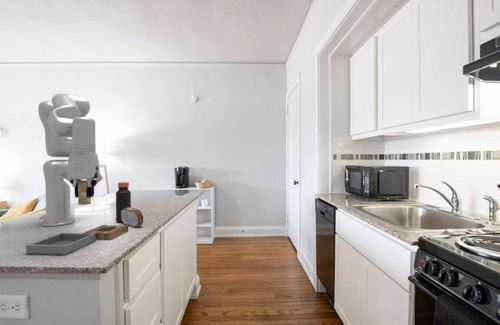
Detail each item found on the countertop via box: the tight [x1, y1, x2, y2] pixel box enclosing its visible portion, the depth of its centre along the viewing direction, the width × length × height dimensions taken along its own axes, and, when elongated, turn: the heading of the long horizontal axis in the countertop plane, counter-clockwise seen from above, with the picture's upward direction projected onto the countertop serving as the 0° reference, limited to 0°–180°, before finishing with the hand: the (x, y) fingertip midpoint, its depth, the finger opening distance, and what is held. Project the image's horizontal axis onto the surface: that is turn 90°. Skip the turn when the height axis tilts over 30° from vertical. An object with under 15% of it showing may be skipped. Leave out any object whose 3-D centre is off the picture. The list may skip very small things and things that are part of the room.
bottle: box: [115, 181, 132, 224], centre depth 125 cm, size 7×7×20 cm
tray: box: [25, 232, 97, 256], centre depth 88 cm, size 14×14×3 cm
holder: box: [83, 224, 129, 241], centre depth 103 cm, size 12×12×2 cm
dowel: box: [77, 179, 92, 206], centre depth 94 cm, size 4×4×9 cm
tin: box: [121, 207, 144, 228], centre depth 117 cm, size 15×3×8 cm, turn 58°
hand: (84, 196), depth 94 cm, fingers closed on dowel, 4 cm apart
